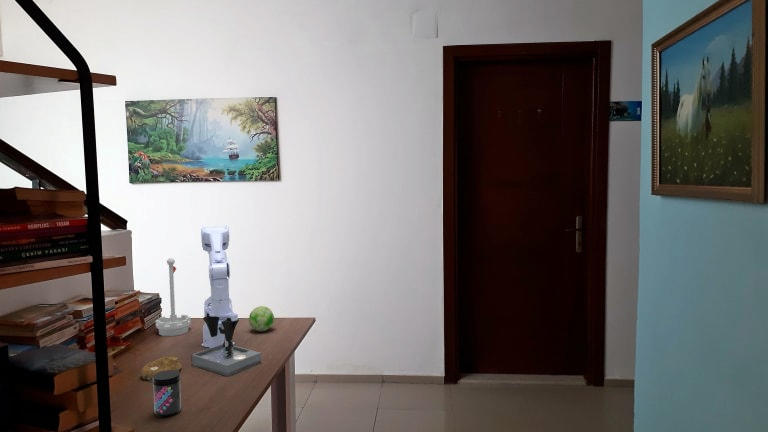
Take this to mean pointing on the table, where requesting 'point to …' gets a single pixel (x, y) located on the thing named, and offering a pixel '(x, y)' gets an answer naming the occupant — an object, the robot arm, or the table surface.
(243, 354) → the scale housing
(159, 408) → the supplement container
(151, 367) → the decorative rock
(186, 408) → the table surface
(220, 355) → the weighing pan
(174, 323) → the flag stand
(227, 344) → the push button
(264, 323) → the decorative ball
